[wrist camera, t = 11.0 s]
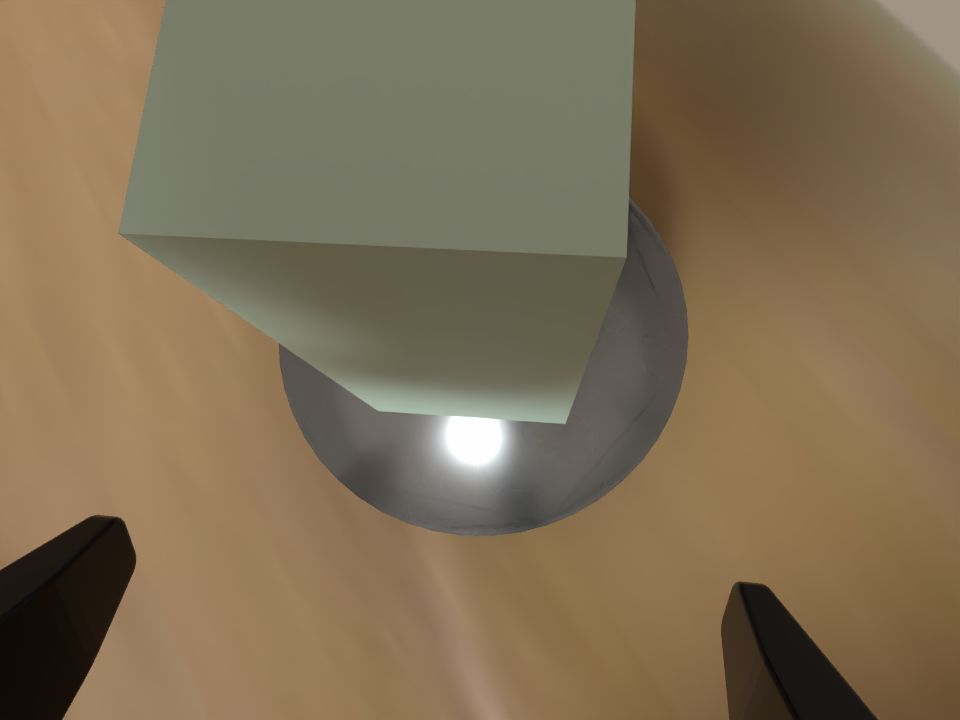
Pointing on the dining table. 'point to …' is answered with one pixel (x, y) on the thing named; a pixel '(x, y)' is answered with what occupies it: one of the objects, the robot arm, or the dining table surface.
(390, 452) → the charcoal tin
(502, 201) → the sage block
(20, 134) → the dining table surface
